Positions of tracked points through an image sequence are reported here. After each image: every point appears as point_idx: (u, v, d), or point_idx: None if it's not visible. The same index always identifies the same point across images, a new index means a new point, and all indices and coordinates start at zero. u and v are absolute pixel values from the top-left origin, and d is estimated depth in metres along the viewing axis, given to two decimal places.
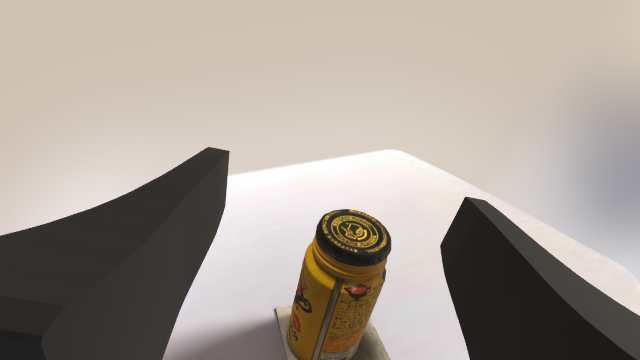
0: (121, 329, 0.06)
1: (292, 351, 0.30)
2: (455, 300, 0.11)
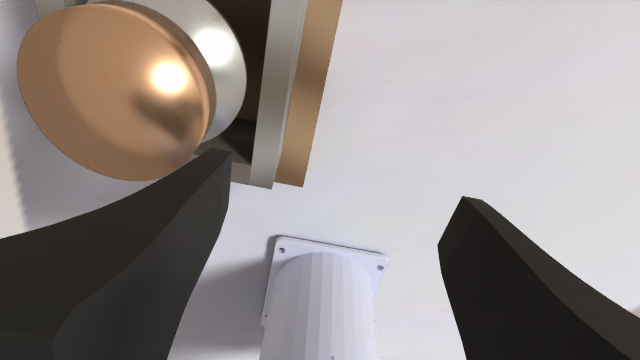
0: (128, 330, 0.06)
1: None
2: (452, 300, 0.11)
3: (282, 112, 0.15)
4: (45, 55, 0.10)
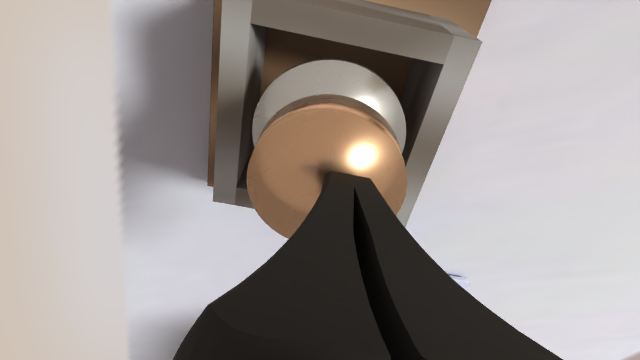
0: None
1: None
2: None
3: (427, 170, 0.16)
4: (279, 150, 0.11)
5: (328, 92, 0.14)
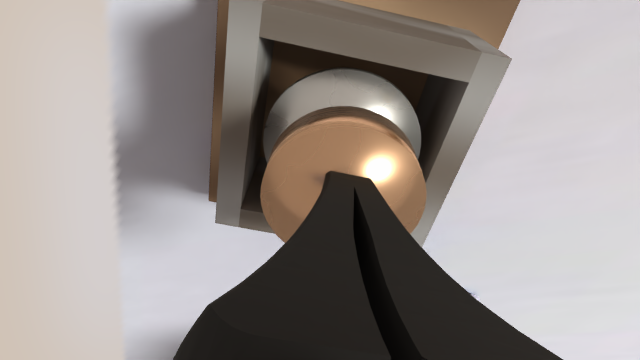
0: None
1: None
2: None
3: (446, 193, 0.15)
4: (295, 164, 0.11)
5: (342, 102, 0.13)
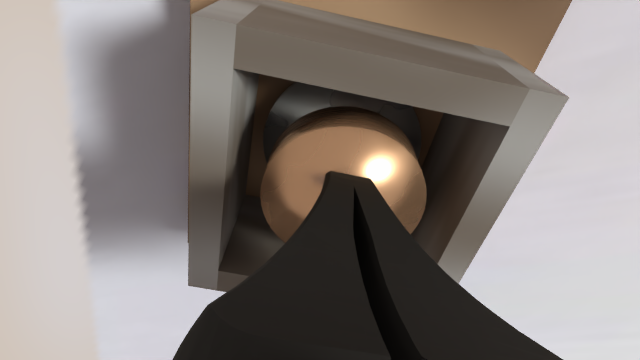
0: None
1: None
2: None
3: (473, 255, 0.12)
4: (295, 164, 0.11)
5: (342, 102, 0.13)
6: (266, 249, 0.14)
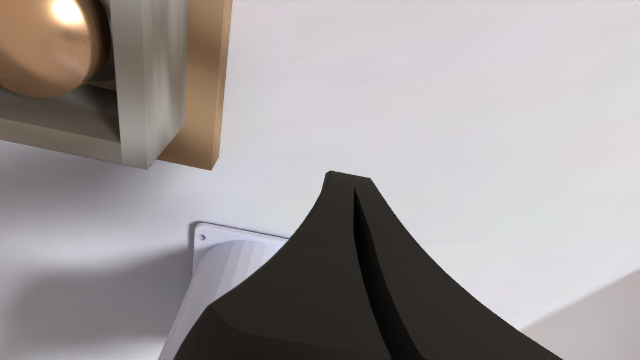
0: None
1: None
2: None
3: (142, 84, 0.13)
4: None
5: None
6: None
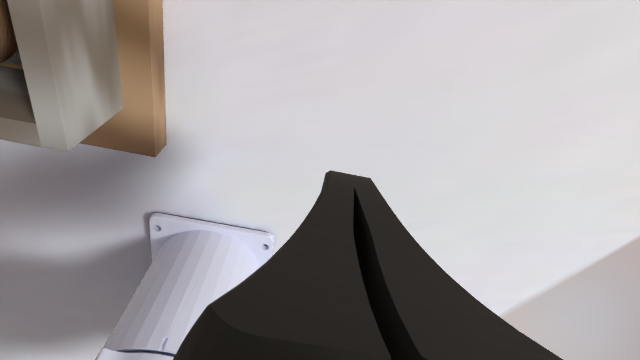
0: None
1: None
2: None
3: (48, 59, 0.13)
4: None
5: None
6: None
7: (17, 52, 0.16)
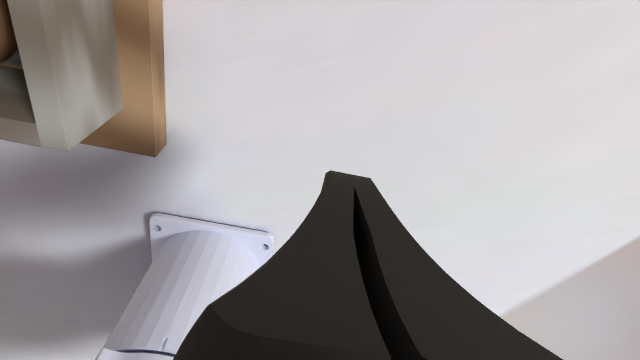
0: None
1: None
2: None
3: (48, 59, 0.13)
4: None
5: None
6: None
7: (17, 52, 0.16)
